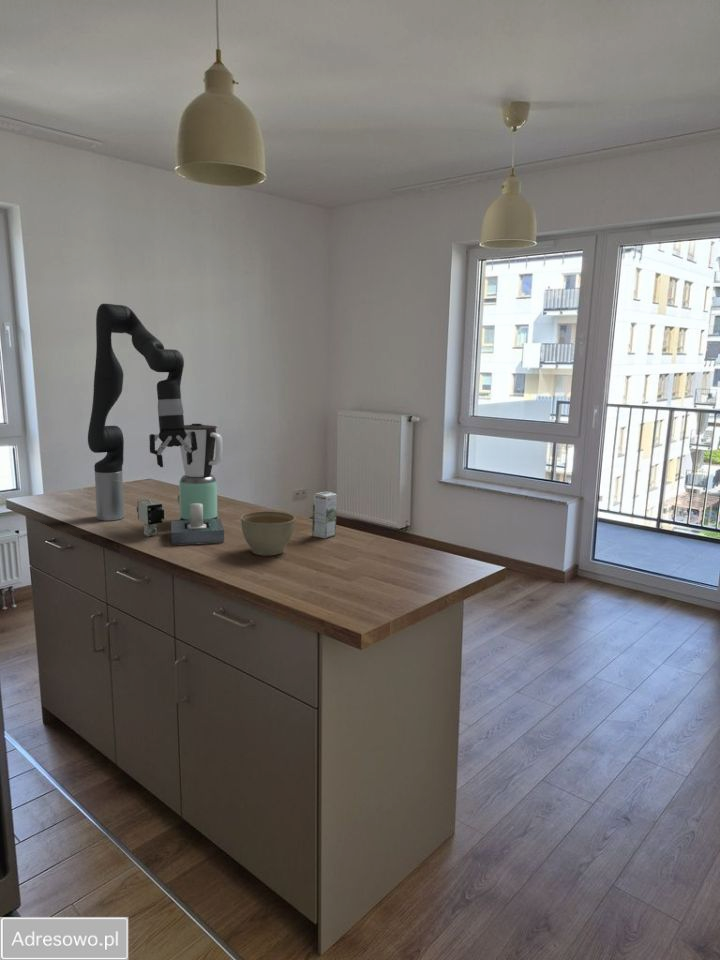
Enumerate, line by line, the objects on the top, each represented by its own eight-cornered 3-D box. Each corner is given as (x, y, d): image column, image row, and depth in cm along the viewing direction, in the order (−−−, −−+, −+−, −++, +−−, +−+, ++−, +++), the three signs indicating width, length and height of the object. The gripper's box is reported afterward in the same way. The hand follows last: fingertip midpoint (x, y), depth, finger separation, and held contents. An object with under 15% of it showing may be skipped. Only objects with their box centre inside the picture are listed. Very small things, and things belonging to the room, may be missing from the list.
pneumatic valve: (150, 540, 204) (149, 503, 202) (136, 532, 213) (135, 496, 211) (167, 537, 208) (166, 501, 206) (153, 530, 217) (152, 495, 214)
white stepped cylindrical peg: (187, 535, 211) (186, 502, 209) (206, 534, 212) (205, 502, 210) (187, 540, 205) (187, 506, 203) (207, 539, 207) (206, 506, 205)
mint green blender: (167, 522, 227) (164, 423, 221) (193, 515, 239) (191, 421, 233) (209, 529, 219) (208, 427, 213) (234, 521, 231) (233, 424, 225)
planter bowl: (250, 562, 184) (250, 525, 182) (234, 547, 198) (234, 513, 196) (302, 556, 191) (303, 520, 189) (283, 542, 205) (283, 509, 203)
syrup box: (322, 532, 218) (323, 490, 216) (336, 535, 215) (337, 493, 213) (311, 536, 214) (312, 493, 211) (325, 539, 211) (326, 495, 208)
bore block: (171, 532, 214) (171, 520, 213) (220, 530, 218) (220, 518, 218) (171, 545, 199) (171, 532, 198) (224, 542, 203) (224, 530, 203)
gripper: (191, 413, 207) (195, 463, 208) (145, 415, 200) (149, 467, 202) (196, 412, 200) (200, 464, 202) (149, 415, 194) (153, 468, 195)
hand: (175, 465), depth 202 cm, fingers open, 8 cm apart
